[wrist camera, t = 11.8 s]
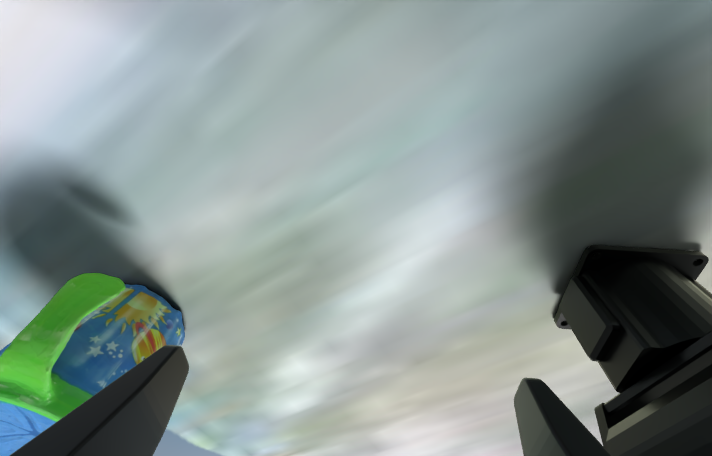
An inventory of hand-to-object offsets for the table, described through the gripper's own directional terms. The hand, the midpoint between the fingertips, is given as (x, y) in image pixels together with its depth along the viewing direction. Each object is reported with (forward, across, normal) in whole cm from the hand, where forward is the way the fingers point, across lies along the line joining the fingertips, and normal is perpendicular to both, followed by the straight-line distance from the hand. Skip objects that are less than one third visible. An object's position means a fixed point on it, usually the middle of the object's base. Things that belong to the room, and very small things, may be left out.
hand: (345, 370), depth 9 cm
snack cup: (+12, +18, +12) cm, 25 cm away
